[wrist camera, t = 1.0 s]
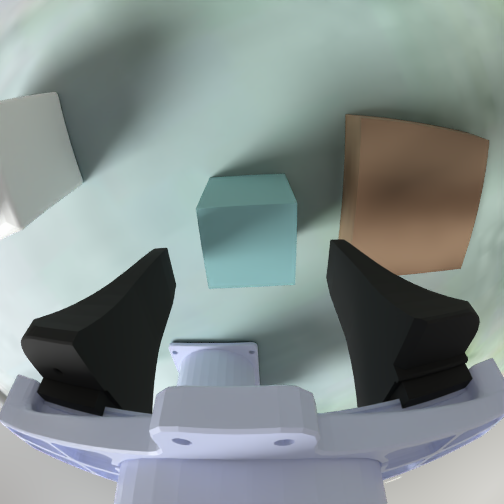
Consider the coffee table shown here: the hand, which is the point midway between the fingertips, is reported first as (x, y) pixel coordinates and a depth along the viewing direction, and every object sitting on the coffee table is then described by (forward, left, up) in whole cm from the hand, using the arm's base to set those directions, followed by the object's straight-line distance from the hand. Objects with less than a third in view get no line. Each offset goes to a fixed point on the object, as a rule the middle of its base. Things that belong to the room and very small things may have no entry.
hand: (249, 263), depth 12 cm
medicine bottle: (+6, +15, -7) cm, 17 cm away
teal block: (0, 0, -6) cm, 6 cm away
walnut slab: (+1, -11, -7) cm, 13 cm away
